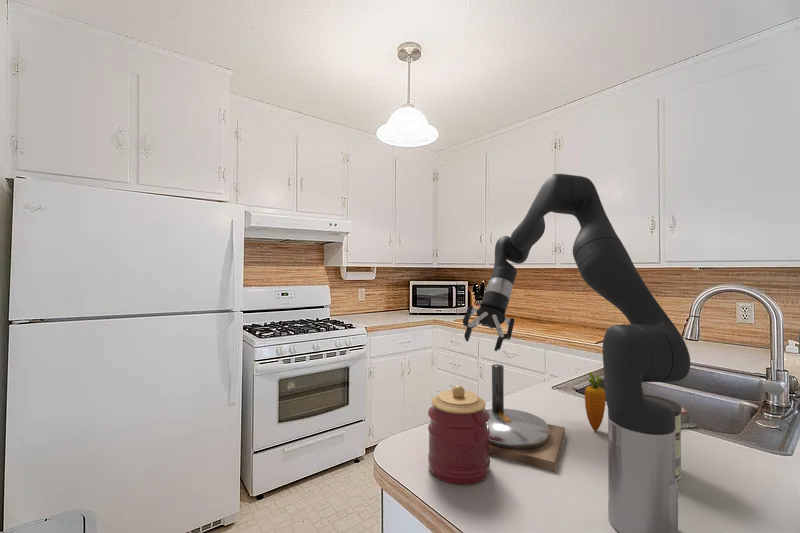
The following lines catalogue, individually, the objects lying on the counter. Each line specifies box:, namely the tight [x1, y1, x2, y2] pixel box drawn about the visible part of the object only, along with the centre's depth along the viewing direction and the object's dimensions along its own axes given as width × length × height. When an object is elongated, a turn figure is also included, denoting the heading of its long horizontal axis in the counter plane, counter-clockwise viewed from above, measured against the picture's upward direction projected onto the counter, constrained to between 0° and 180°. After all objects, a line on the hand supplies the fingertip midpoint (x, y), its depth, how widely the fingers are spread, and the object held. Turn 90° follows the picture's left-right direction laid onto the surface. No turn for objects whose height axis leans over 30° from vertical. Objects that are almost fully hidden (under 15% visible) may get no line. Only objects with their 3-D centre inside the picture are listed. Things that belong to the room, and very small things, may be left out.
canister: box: [427, 384, 491, 486], centre depth 78 cm, size 13×13×18 cm
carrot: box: [584, 371, 606, 432], centre depth 95 cm, size 5×5×15 cm
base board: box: [489, 423, 566, 472], centre depth 90 cm, size 23×19×2 cm
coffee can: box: [643, 393, 683, 482], centre depth 78 cm, size 10×10×14 cm
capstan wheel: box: [486, 363, 549, 449], centre depth 90 cm, size 18×18×14 cm
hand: (481, 345), depth 106 cm, fingers open, 8 cm apart
